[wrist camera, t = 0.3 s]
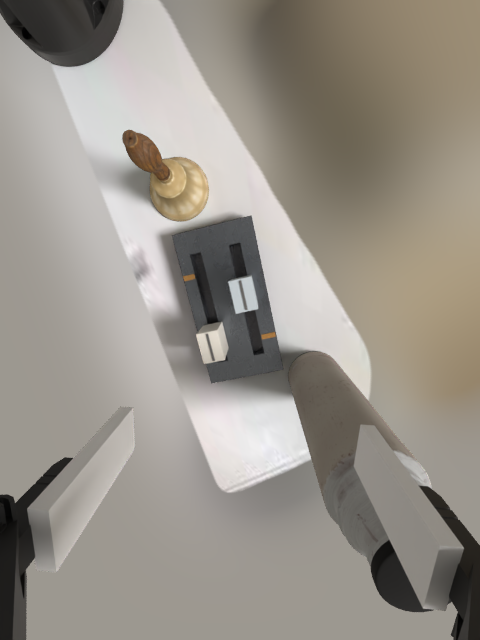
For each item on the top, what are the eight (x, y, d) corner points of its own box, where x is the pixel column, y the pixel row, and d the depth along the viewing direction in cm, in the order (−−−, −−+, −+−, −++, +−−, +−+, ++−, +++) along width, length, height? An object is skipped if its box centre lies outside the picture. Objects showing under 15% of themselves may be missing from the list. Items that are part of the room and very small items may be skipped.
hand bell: (190, 145, 36) (142, 56, 21) (219, 203, 38) (194, 161, 22) (139, 177, 37) (57, 115, 22) (169, 232, 39) (111, 211, 23)
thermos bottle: (350, 370, 42) (535, 576, 14) (317, 407, 43) (428, 658, 16) (309, 341, 41) (419, 498, 14) (277, 380, 43) (320, 591, 15)
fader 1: (205, 323, 40) (195, 334, 33) (223, 319, 40) (217, 330, 33) (211, 348, 41) (203, 364, 34) (229, 344, 40) (224, 360, 34)
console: (177, 237, 39) (171, 235, 36) (251, 218, 38) (251, 215, 35) (213, 376, 43) (211, 383, 40) (281, 363, 42) (283, 369, 39)
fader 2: (232, 278, 38) (228, 281, 32) (251, 274, 38) (251, 276, 32) (238, 305, 39) (235, 314, 33) (257, 301, 39) (258, 309, 32)
